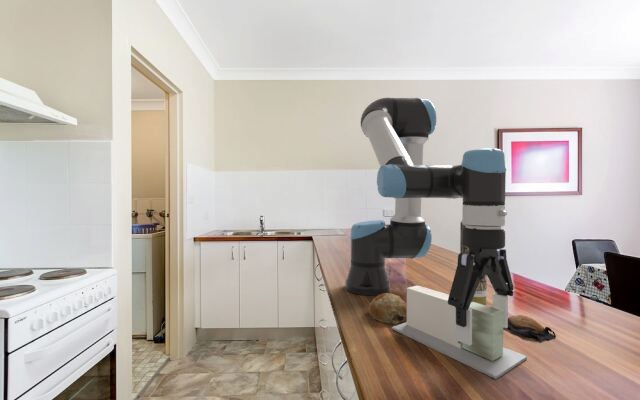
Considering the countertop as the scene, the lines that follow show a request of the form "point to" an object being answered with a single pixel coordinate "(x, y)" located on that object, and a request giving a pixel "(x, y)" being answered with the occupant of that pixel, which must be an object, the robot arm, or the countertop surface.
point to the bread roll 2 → (529, 328)
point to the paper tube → (482, 286)
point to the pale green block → (486, 331)
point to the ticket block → (447, 332)
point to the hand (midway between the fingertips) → (483, 333)
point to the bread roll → (388, 308)
